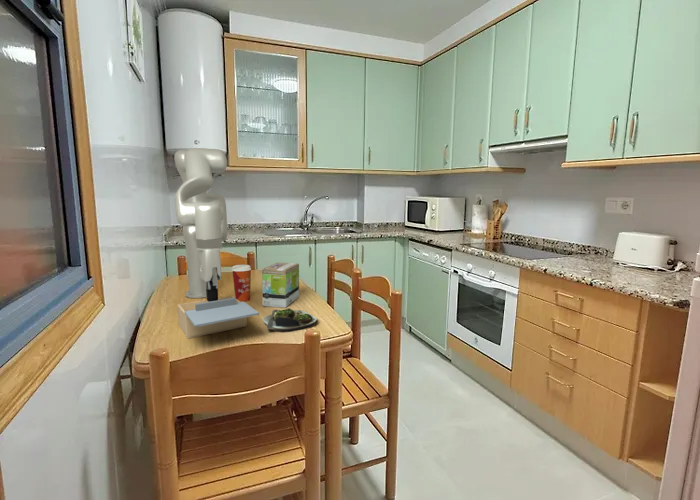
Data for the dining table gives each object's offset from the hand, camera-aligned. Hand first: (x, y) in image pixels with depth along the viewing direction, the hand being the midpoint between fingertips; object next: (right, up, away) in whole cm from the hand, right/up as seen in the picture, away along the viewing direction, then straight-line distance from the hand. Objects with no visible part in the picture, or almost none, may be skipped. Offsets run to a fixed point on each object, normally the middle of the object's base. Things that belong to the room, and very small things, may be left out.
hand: (212, 300), depth 119 cm
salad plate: (+24, -9, +6) cm, 26 cm away
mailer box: (-1, -9, +3) cm, 9 cm away
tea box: (+17, -5, +29) cm, 34 cm away
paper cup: (+1, -4, +32) cm, 32 cm away
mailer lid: (+6, -3, -8) cm, 10 cm away
